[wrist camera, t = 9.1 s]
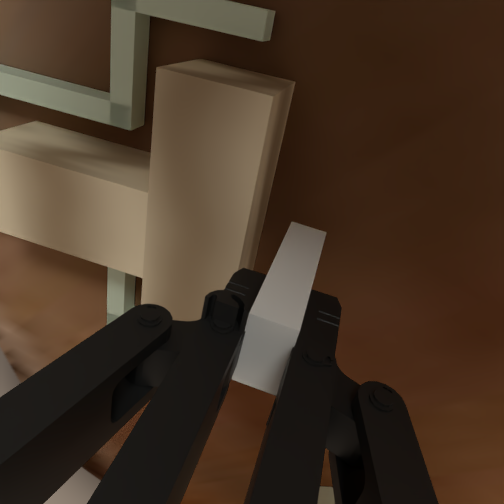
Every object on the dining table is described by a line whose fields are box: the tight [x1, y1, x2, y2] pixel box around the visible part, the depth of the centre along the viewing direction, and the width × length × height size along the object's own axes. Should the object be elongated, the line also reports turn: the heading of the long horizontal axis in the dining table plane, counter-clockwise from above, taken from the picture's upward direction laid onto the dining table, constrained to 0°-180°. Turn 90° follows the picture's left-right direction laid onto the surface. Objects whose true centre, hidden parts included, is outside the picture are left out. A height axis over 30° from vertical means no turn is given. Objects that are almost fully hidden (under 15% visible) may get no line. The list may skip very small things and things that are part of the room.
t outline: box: [0, 0, 276, 325], centre depth 21 cm, size 14×17×1 cm
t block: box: [0, 59, 295, 321], centre depth 19 cm, size 12×13×4 cm
